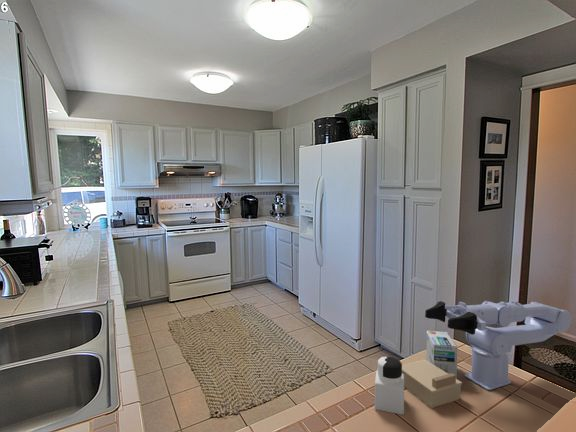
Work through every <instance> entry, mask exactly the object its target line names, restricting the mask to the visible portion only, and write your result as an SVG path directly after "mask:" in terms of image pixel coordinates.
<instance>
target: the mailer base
mask: <svg viewBox="0 0 576 432" xmlns="http://www.w3.org/2000/svg"><path fill="white" fill-rule="evenodd" d="M402 374H404V388H405V389H406V390H408V391H409V390H410V391H409V392H411V393H412V394H413V395H414V394H415V395H414V396H416V398H418V397H419V398H418V399H419V400H421V401H422V402H423V403H424V404H426V405H427V406H428V407H430V409H434V408H436V407H440V406H443V405H446V404H449V403H452V402H455V401H458V400H461V399H462V398H461V397H462V396H461V393H462V391H461V390H462V384H461V385H458V386H454V387H451V388H448V389H444V390H441V391H438V392H435V393H431V392H430V391H428V390H427V389H426V388H424V387H423V386H422V385H420V384H419V383H417V382H416V381H415V380H413V379H412V378H411V377H409V376H408V375H406V374H405V373H404V372H402Z"/></svg>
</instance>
